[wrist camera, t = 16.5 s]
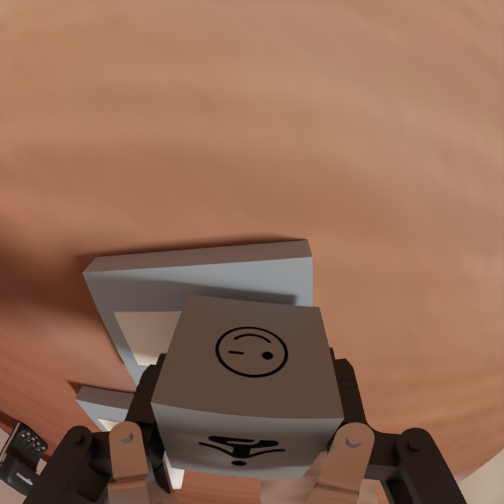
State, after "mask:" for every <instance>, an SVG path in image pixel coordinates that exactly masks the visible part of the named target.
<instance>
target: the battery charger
mask: <svg viewBox="0 0 504 504" xmlns="http://www.w3.org/2000/svg"><path fill="white" fill-rule="evenodd" d="M47 449H48V445H47V444H46V443H45V442H44V441H43V440H42V439H41V438H40V437H39V436H37V435H36V434H35V433H34V432H33V431H32V430H31V429H29V428H28V427H26V426H24V425H23V424H21V423H19V422H17V423H16V425H15V427H14V429H13V431H12V433H11V434H10V436H9V438H8V440H7V442H6V443H5V445H4V447H3V449H2V451H1V453H0V480H1V481H2V482H3V483H5V484H6V485H8V486H9V487H11V488H12V489H14V490H16V491H18V492H19V493H21V494H23V495H25V496H27V495H28V494H29V492H30V490H31V489H32V487H33V485H34V484H35V482H36V480H37V479H38V477H39V475H38V474H36V471H37V470H36V468H37V465H38V462H39V460H40V458H41V456H42V455H43V453H44V452H46V450H47Z"/></svg>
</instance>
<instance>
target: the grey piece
mask: <svg viewBox="0 0 504 504" xmlns="http://www.w3.org/2000/svg"><path fill="white" fill-rule="evenodd" d="M133 396H134V394H132V393H124V392H117V391H111V390H104V389H98V388H93V387H87V386H82V387H81V389H80V391H79V393H78V395H77V397H76V399H75V400H76V401H77V402H78V403H79V405H80V406H81V407H82V408H83V410H84V411H85V412H86V413H87V414H88V415H89V417H90V418H91V419H92V420H93V421H94V422H95V424H96V425H97V426H98V427H99V428H100V429H101V430H102V431H103V432H106V431H111V429H112V428H113V427H114V426H115V425H116V424H118V423H120V422H124V420H125V418H126V415H127V412H128V410H129V407H130V404H131V402H132V399H133ZM163 457H164V458H165V461H166V465H167V469H168V473H169V477H170V481H171V484H172V488H173V489H180V488H181V486H182V480H183V475H184V470H181V469H176V468H171V465H170V463H169V460H168V457H167V454H166V451H165V452H164V456H163Z"/></svg>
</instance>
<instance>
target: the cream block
mask: <svg viewBox="0 0 504 504" xmlns="http://www.w3.org/2000/svg"><path fill="white" fill-rule="evenodd" d="M326 458H327V451H325V452H321V453H320V454H319V455H318V457H317V458H316V459H315V461H314V462H313V463H312V465H311V466H310V467H309V469H308V470H307V471H306V472H305V474H304V475H303V476H302V477H301V478H300V479H268V478H261V498H260V504H306V502H307V500H308V498H309V496H310V494H311V492H312V489H313V487H314V485H315V484H316V482H317V480H318V478H319V475H320V473H321V471H322V468H323V466H324V463H325V461H326ZM357 504H378V501H377V495H376V488H375V482H374V480H371V479H363V481H362V484H361V487H360V490H359V498H358V501H357Z"/></svg>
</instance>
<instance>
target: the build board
mask: <svg viewBox="0 0 504 504" xmlns="http://www.w3.org/2000/svg"><path fill="white" fill-rule="evenodd" d="M82 273H83V276H84V278H85V281H86V283H87V286H88V288H89V291H90V293H91V296H92V298H93V300H94V303H95V305H96V307H97V309H98V312H99V314H100V316H101V318H102V320H103V323H104V325H105V327H106V329H107V331H108V333H109V335H110V337H111V339H112V341H113V343H114V345H115V347H116V349H117V351H118V353H119V355H120V357H121V359H122V360H123V362H124V364H125V366H126V368H127V370H128V371H129V373H130V375H131V377H132V378H133V380H134V382H135V384H136V385H137V386H138V384H139V381H140V378H141V376H142V373H143V372H144V371H145V370H146V368H147V367H148V366H149V365H150V364H154V365H156V363H157V360H158V357H159V355H160V354H161V353H167V351H168V348H169V345H170V343H171V340H172V337H173V334H174V331H175V328H176V326H177V323H178V320H179V317H180V315H181V312H182V309H183V306H184V304H185V301H186V298H187V295H188V294H192V295H200V296H208V297H217V298H225V299H234V300H244V301H253V302H263V303H274V304H285V305H296V306H308V307H312V303H313V267H312V254H311V250H310V247H309V243H308V240H301V241H288V242H275V243H262V244H249V245H236V246H223V247H211V248H198V249H186V250H174V251H162V252H150V253H138V254H126V255H115V256H103V257H96V258H95V259H94V261H93V262H92V263H91V264H90V265H89V266H88V267H87V268H86V269H85V270H84V271H83V272H82Z"/></svg>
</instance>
